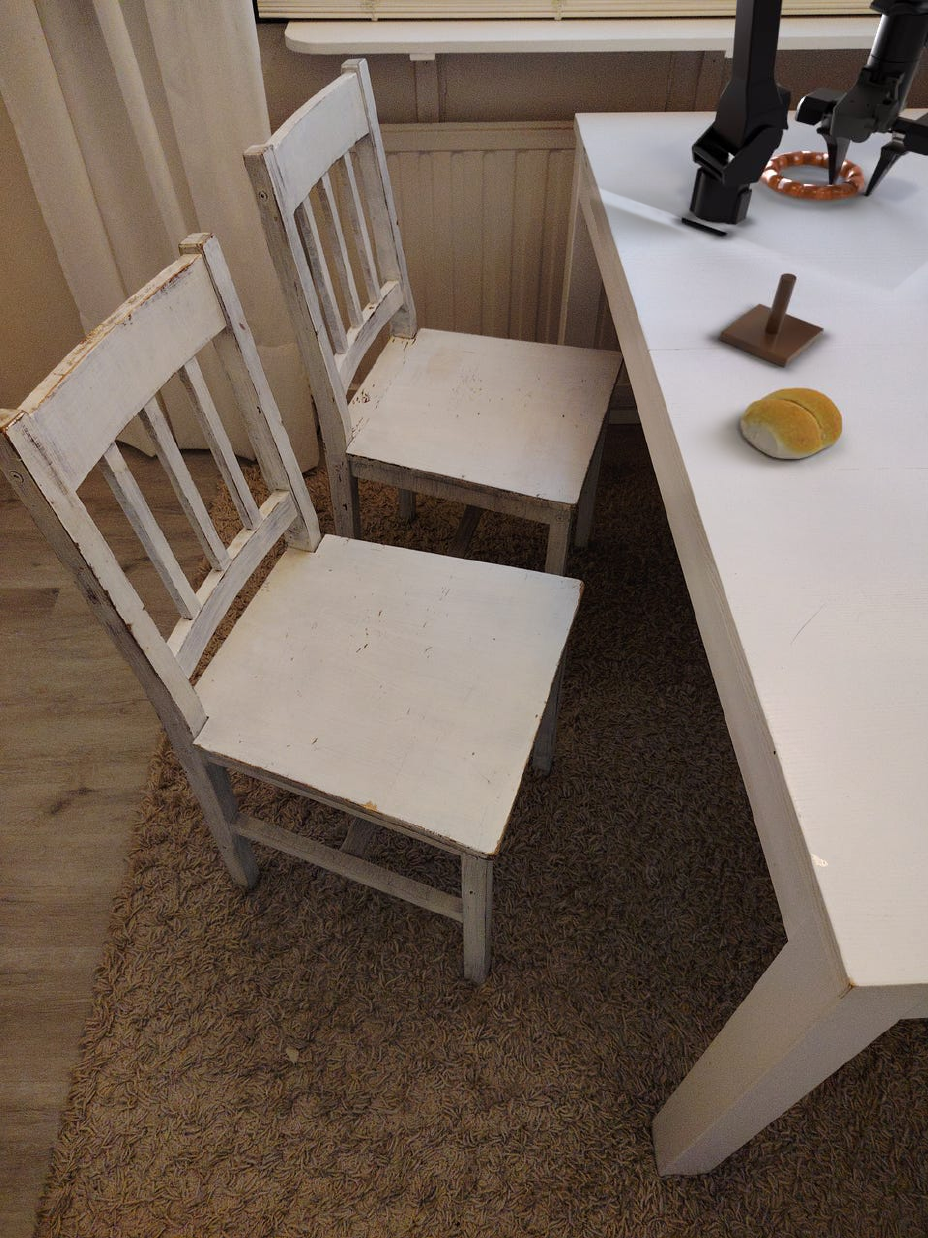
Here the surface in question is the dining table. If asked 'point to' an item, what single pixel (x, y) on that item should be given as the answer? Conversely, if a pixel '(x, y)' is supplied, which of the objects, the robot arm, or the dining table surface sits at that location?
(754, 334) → the stand
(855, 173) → the segmented orange ring
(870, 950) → the dining table surface
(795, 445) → the bread roll
